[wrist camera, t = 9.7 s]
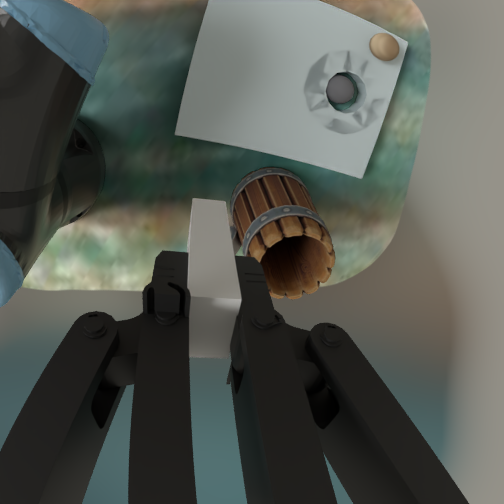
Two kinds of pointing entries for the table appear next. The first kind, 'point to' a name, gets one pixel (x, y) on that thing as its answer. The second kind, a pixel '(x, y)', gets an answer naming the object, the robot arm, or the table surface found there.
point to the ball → (339, 89)
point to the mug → (281, 232)
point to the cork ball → (384, 47)
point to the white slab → (287, 82)
